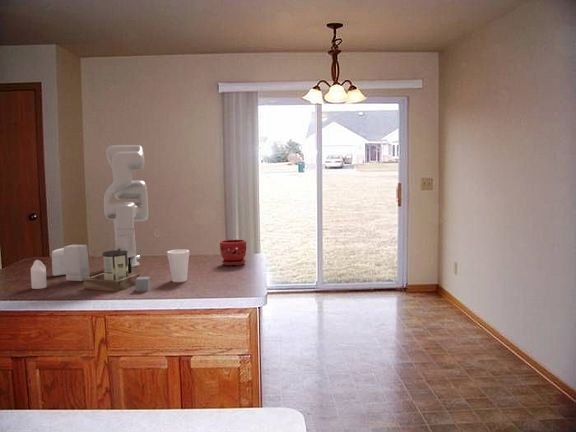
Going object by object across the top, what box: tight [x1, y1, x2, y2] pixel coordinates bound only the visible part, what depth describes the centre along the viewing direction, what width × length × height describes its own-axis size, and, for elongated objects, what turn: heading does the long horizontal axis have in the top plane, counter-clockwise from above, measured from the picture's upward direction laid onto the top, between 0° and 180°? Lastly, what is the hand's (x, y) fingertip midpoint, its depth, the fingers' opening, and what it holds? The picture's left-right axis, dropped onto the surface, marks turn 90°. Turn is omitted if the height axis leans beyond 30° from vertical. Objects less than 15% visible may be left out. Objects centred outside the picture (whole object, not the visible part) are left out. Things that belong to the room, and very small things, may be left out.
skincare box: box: [63, 244, 91, 282], centre depth 260 cm, size 8×7×16 cm
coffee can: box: [102, 249, 129, 281], centre depth 249 cm, size 10×10×14 cm
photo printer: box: [51, 247, 66, 277], centre depth 272 cm, size 10×4×12 cm, turn 123°
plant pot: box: [219, 239, 247, 267], centre depth 289 cm, size 13×13×12 cm
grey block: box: [135, 276, 152, 292], centre depth 239 cm, size 5×5×5 cm
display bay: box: [82, 272, 141, 292], centre depth 247 cm, size 16×17×4 cm
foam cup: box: [166, 249, 190, 283], centre depth 254 cm, size 10×9×13 cm
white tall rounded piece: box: [30, 259, 48, 290], centre depth 246 cm, size 6×12×6 cm
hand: (127, 273), depth 257 cm, fingers closed
